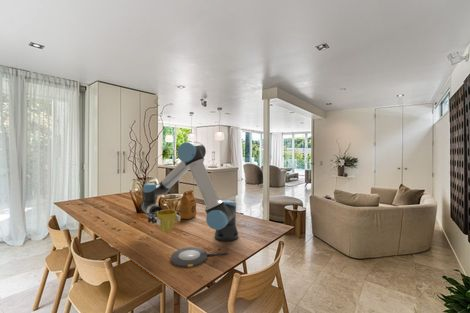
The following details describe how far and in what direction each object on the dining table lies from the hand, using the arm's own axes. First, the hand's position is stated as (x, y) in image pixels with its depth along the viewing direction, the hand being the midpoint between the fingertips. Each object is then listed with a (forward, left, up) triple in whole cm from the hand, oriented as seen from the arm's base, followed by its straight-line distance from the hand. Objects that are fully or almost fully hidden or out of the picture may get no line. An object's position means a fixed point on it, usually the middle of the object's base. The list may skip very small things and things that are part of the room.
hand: (169, 220), depth 121 cm
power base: (-16, +7, -18) cm, 25 cm away
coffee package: (-13, -62, -18) cm, 65 cm away
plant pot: (+2, -4, -6) cm, 7 cm away
